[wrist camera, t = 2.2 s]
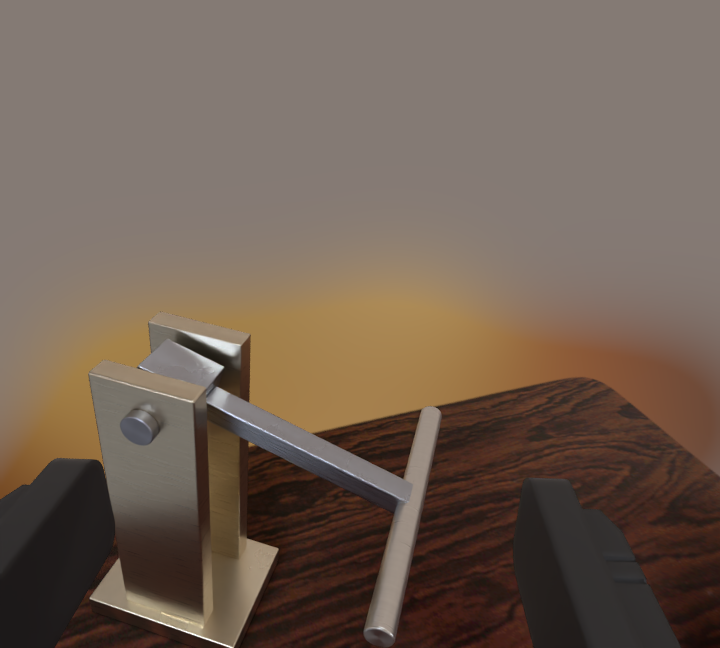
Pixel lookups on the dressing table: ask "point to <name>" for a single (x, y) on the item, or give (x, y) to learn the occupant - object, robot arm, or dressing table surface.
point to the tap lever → (326, 471)
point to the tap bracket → (179, 495)
